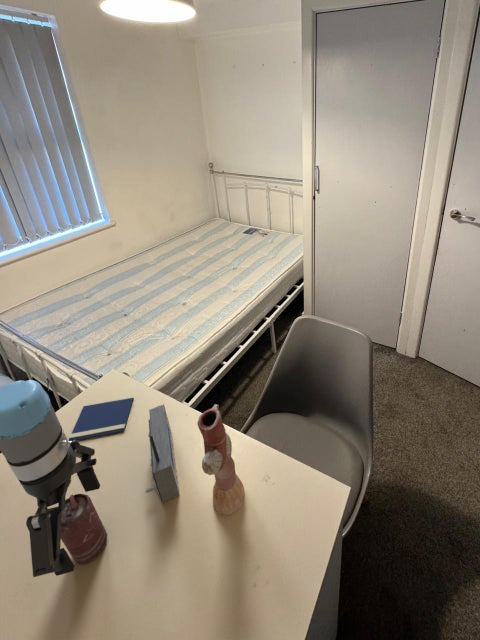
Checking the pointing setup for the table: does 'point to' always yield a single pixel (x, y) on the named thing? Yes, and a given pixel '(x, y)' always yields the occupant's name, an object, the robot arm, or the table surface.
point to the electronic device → (162, 455)
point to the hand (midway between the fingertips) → (80, 525)
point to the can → (82, 529)
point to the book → (102, 419)
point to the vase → (220, 462)
